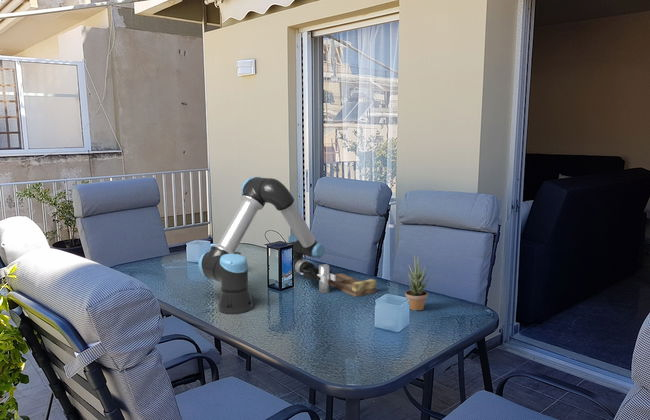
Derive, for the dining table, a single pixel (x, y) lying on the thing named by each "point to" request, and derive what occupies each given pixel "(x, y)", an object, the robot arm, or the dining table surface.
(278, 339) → the dining table surface
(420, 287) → the potted plant
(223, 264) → the robot arm
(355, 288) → the jig bar
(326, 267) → the steel sleeve
